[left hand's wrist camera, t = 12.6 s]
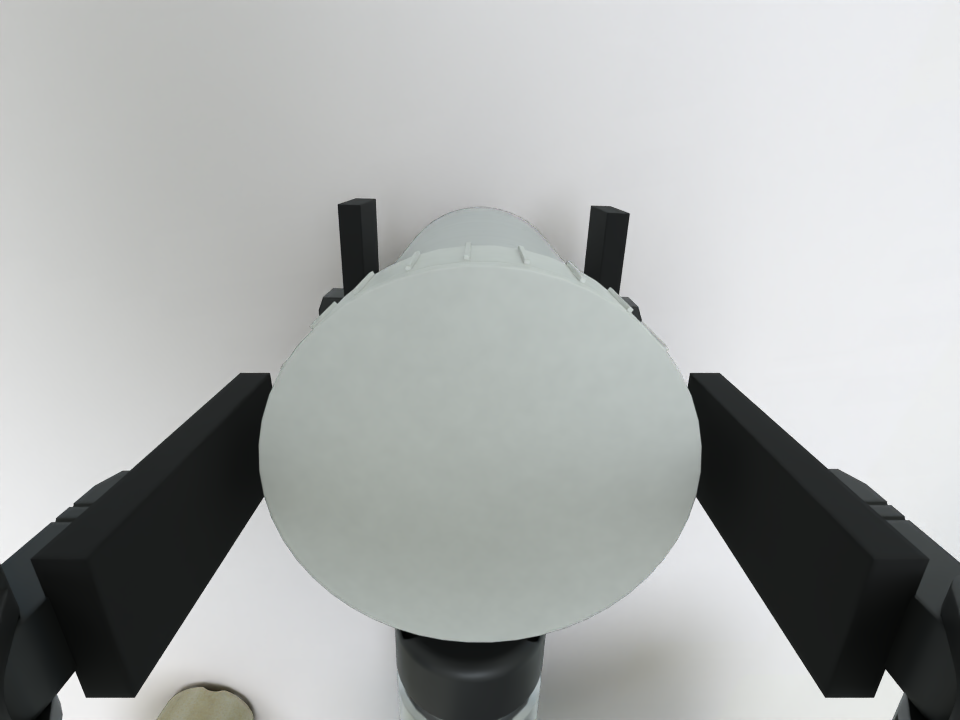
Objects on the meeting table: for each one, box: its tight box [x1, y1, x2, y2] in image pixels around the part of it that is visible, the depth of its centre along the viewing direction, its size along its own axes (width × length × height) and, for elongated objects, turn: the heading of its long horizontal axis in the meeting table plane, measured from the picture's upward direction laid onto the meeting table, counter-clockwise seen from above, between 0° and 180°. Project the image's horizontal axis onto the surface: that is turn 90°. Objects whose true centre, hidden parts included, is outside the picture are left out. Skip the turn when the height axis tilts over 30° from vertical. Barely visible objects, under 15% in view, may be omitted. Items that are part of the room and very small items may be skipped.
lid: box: [259, 242, 702, 642], centre depth 12 cm, size 9×9×2 cm
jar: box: [396, 207, 564, 263], centre depth 18 cm, size 8×8×16 cm
